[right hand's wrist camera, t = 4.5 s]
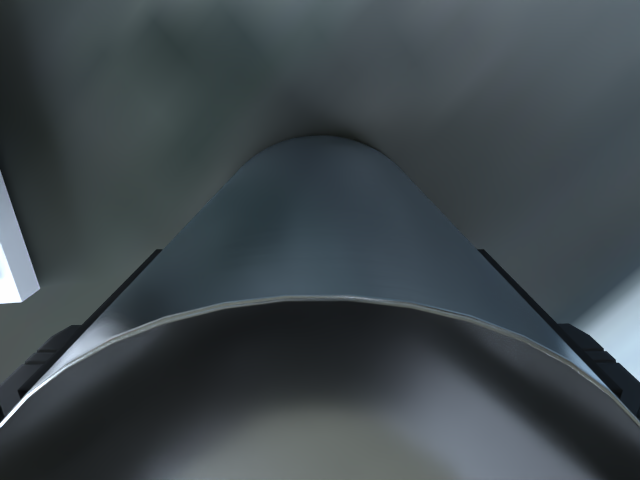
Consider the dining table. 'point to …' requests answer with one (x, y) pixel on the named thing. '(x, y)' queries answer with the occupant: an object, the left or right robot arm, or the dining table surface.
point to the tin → (320, 350)
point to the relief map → (13, 256)
